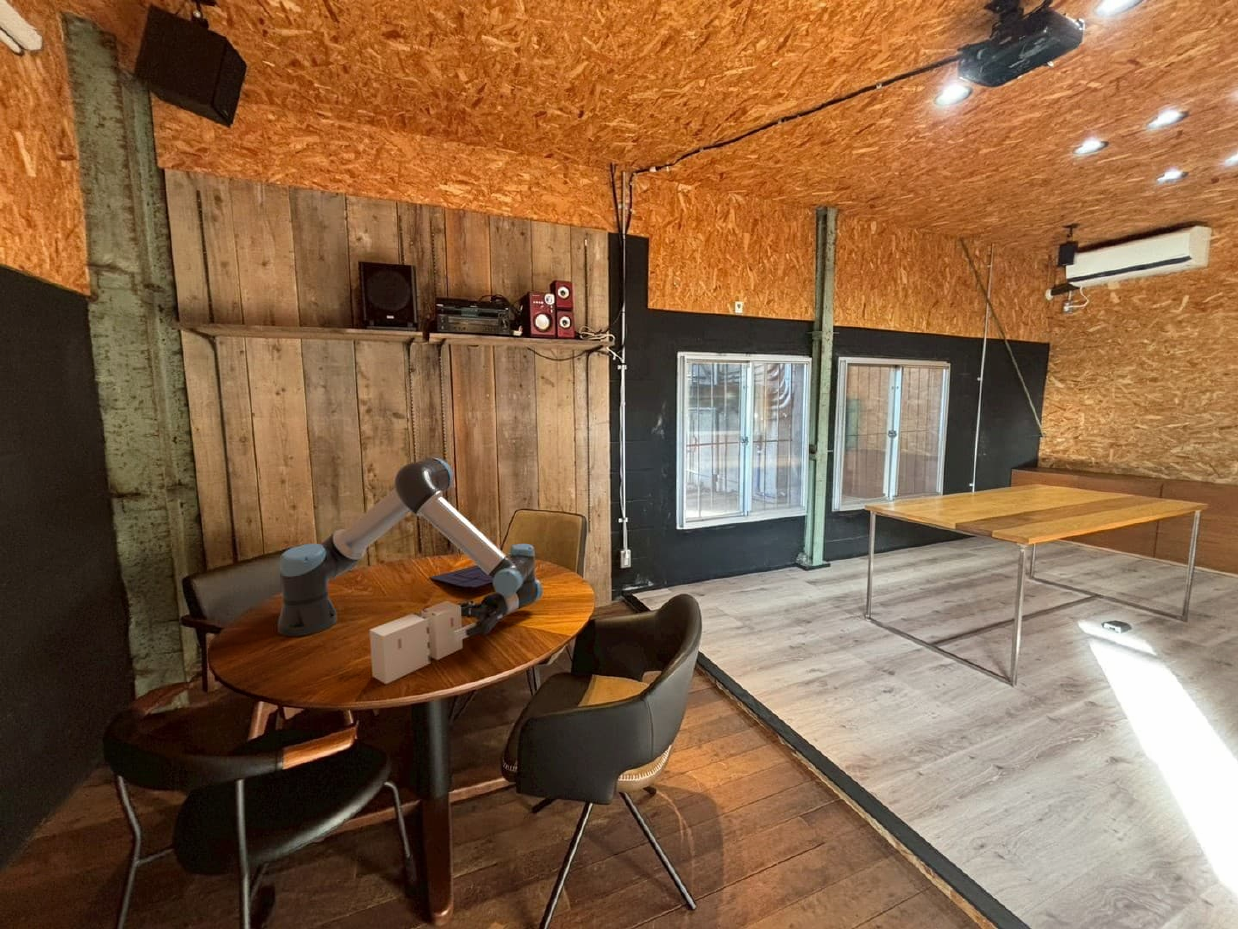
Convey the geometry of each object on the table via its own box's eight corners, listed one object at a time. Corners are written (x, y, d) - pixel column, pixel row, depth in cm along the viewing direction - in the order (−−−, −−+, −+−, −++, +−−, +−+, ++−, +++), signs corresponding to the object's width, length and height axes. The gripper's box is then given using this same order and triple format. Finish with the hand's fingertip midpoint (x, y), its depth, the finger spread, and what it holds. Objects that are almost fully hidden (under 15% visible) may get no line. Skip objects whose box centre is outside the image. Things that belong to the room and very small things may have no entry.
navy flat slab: (470, 596, 173) (469, 586, 173) (428, 585, 194) (427, 575, 194) (529, 578, 190) (528, 568, 190) (485, 569, 211) (484, 560, 211)
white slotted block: (372, 676, 126) (369, 628, 124) (416, 656, 136) (414, 612, 134) (386, 684, 122) (383, 635, 121) (430, 663, 132) (428, 618, 130)
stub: (423, 653, 137) (421, 609, 136) (448, 641, 144) (446, 600, 142) (437, 660, 134) (435, 615, 132) (462, 648, 140) (460, 605, 139)
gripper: (529, 626, 147) (469, 657, 130) (472, 606, 161) (411, 631, 144) (529, 601, 146) (468, 628, 129) (471, 583, 160) (410, 605, 143)
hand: (438, 630), depth 136 cm, fingers open, 13 cm apart
